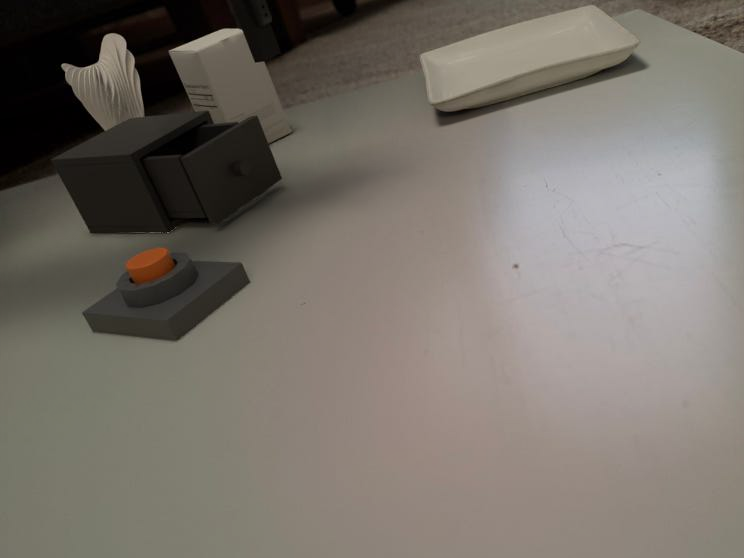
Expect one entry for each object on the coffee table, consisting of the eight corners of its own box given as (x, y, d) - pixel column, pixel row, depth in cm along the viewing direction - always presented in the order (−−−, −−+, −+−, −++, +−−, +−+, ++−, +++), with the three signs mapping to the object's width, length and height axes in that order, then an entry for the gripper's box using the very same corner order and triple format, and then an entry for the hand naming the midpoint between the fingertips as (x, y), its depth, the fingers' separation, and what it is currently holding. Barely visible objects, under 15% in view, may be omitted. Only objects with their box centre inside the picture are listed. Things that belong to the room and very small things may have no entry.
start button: (184, 264, 79) (176, 247, 78) (153, 286, 76) (144, 269, 75) (156, 262, 81) (148, 246, 80) (125, 284, 78) (116, 268, 77)
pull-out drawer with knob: (289, 178, 101) (265, 114, 97) (225, 224, 93) (195, 156, 89) (205, 181, 108) (178, 122, 104) (138, 224, 101) (107, 162, 96)
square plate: (424, 76, 129) (417, 51, 127) (597, 27, 128) (593, 0, 126) (435, 128, 106) (427, 98, 104) (646, 68, 105) (642, 37, 103)
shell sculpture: (106, 175, 127) (44, 55, 117) (133, 154, 133) (77, 39, 124) (153, 166, 125) (94, 43, 115) (178, 145, 131) (124, 27, 122)
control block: (250, 282, 80) (234, 245, 78) (177, 341, 74) (156, 302, 72) (167, 277, 87) (150, 243, 85) (92, 332, 80) (71, 296, 78)
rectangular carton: (262, 128, 127) (222, 27, 119) (293, 132, 121) (253, 26, 113) (211, 153, 123) (165, 49, 115) (241, 158, 116) (195, 49, 108)
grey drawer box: (240, 185, 107) (208, 110, 101) (168, 233, 98) (129, 154, 93) (163, 187, 114) (129, 118, 109) (90, 232, 106) (50, 159, 100)
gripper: (246, -225, 76) (335, 39, 89) (153, -188, 83) (247, 52, 96) (189, -215, 71) (291, 63, 84) (94, -176, 78) (202, 76, 91)
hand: (267, 57), depth 90 cm, fingers closed
